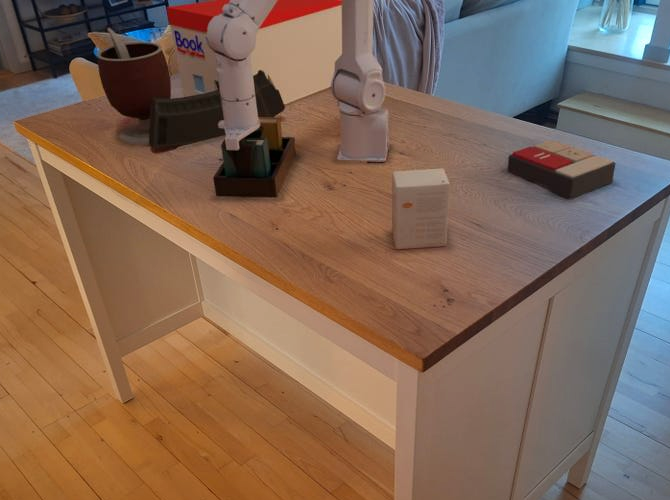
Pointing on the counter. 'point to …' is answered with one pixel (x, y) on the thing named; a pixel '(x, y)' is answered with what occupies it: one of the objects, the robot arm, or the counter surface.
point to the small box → (420, 208)
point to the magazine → (203, 114)
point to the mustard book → (272, 131)
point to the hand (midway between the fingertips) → (248, 173)
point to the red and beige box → (562, 168)
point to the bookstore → (264, 46)
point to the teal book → (259, 159)
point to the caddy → (258, 185)
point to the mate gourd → (134, 82)
